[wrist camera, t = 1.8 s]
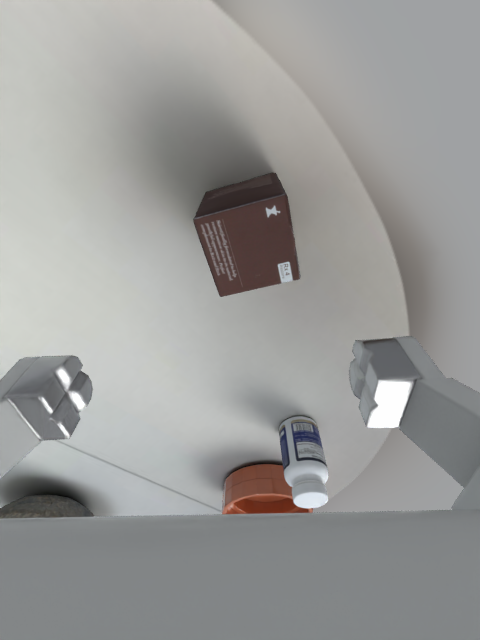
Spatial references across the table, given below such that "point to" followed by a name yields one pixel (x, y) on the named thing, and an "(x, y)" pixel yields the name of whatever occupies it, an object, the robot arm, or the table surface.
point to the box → (248, 235)
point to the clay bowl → (259, 492)
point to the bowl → (44, 508)
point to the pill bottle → (304, 461)
